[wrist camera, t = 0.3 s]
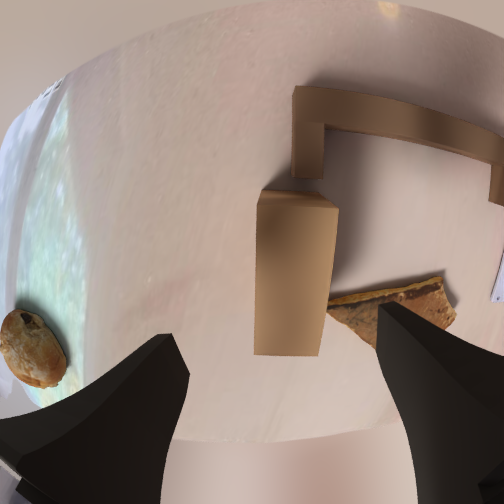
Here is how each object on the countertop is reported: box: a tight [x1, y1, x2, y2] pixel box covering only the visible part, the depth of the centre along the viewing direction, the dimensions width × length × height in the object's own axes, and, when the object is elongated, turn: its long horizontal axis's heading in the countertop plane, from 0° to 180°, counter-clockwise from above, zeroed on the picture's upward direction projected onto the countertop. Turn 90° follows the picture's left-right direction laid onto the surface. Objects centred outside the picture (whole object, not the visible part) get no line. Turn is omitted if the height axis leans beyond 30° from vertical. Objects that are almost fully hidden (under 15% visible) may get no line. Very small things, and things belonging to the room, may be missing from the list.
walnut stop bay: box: [291, 86, 504, 206], centre depth 13 cm, size 18×5×2 cm, turn 89°
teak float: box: [254, 190, 339, 356], centre depth 15 cm, size 4×8×6 cm, turn 179°
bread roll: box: [0, 309, 66, 389], centre depth 22 cm, size 10×10×8 cm
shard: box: [326, 277, 457, 350], centre depth 18 cm, size 11×8×2 cm
